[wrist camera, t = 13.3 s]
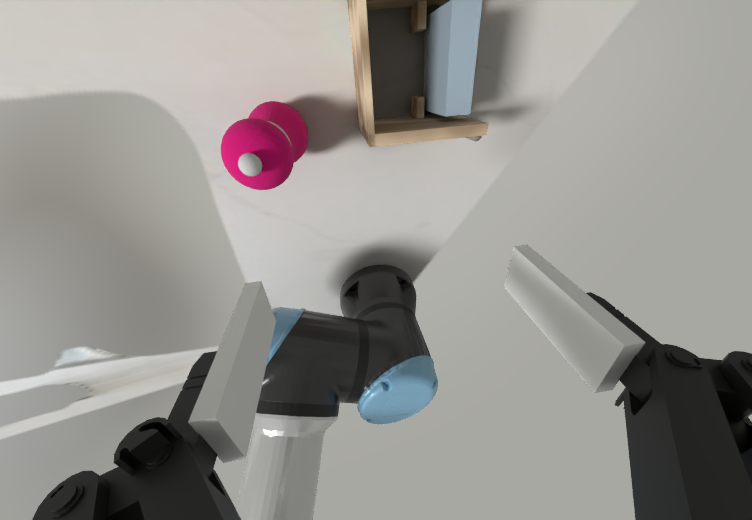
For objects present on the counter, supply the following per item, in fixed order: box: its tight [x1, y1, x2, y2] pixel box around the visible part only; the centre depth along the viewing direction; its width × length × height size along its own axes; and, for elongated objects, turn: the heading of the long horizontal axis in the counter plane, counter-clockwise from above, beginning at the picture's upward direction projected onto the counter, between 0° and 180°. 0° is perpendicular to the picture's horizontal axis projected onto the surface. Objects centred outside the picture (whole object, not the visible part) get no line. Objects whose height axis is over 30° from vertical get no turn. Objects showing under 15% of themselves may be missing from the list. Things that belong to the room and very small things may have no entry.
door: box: [423, 0, 482, 117], centre depth 33 cm, size 10×4×9 cm, turn 4°
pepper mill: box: [221, 101, 308, 190], centre depth 30 cm, size 7×7×20 cm
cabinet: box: [348, 0, 488, 147], centre depth 31 cm, size 15×14×12 cm
